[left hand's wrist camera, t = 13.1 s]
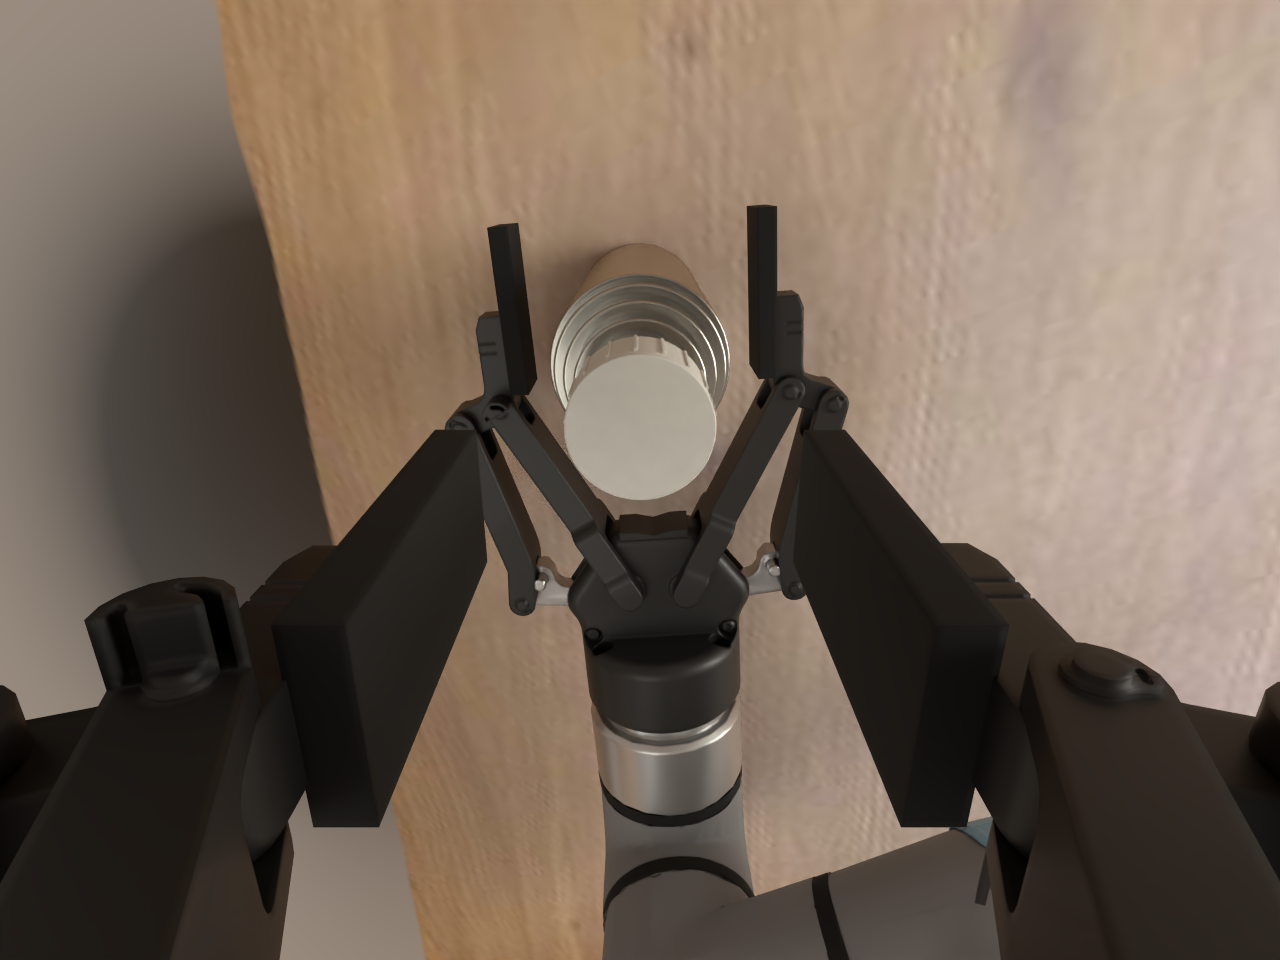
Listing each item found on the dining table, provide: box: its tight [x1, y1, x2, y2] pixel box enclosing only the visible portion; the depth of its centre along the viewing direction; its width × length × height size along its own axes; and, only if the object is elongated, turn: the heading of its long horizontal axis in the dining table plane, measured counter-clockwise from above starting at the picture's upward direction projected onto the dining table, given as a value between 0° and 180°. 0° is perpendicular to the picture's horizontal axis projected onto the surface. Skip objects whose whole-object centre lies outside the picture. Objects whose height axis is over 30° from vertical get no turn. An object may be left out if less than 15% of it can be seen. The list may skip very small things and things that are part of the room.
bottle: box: [550, 244, 730, 411], centre depth 27 cm, size 6×6×20 cm
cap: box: [563, 335, 717, 500], centre depth 19 cm, size 4×4×2 cm
